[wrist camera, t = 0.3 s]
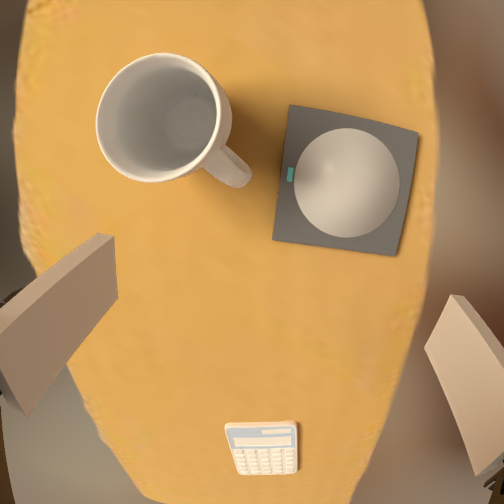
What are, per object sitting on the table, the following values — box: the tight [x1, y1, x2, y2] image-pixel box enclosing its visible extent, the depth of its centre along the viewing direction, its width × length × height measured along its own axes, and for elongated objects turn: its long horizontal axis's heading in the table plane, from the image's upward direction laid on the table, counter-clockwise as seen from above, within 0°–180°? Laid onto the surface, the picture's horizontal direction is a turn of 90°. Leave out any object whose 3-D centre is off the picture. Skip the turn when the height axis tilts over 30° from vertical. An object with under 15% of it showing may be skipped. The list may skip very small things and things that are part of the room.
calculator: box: [225, 421, 298, 475], centre depth 52 cm, size 13×20×2 cm, turn 6°
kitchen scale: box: [272, 105, 418, 256], centre depth 34 cm, size 16×16×1 cm
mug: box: [96, 53, 252, 188], centre depth 28 cm, size 15×11×13 cm
